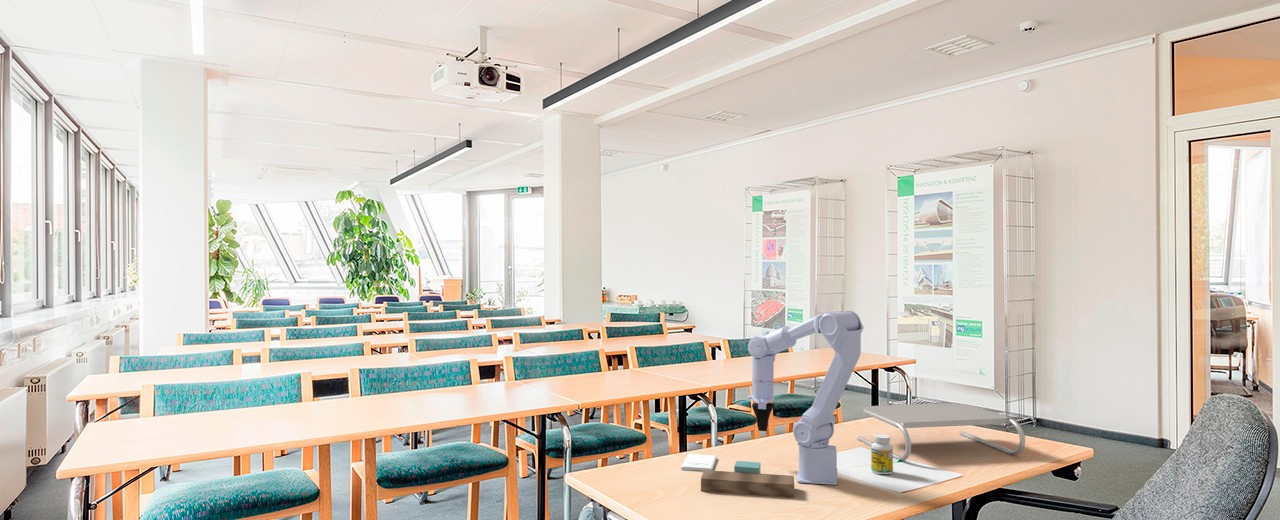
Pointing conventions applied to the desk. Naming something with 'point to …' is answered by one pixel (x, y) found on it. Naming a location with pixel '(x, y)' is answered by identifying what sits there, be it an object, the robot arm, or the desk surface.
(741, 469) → the teal block
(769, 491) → the walnut board
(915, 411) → the monitor stand
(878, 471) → the supplement bottle
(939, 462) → the desk surface
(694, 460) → the external hard drive
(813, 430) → the robot arm
